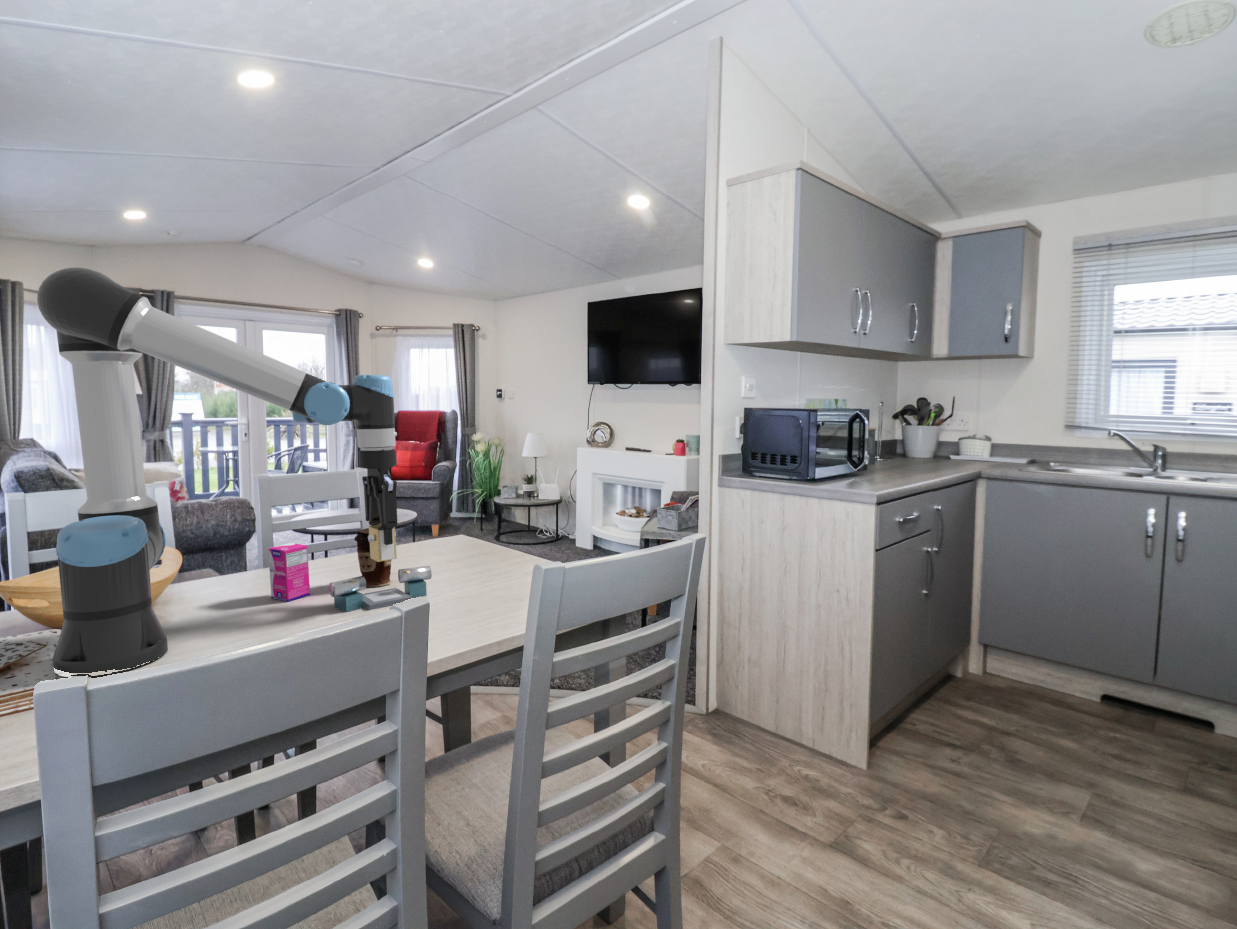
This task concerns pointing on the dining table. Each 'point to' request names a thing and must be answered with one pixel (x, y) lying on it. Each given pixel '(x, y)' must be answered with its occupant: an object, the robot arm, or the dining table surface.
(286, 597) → the supplement box
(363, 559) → the coffee cup
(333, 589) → the shaft
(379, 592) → the cradle
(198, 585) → the dining table surface
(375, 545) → the block
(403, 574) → the shaft
